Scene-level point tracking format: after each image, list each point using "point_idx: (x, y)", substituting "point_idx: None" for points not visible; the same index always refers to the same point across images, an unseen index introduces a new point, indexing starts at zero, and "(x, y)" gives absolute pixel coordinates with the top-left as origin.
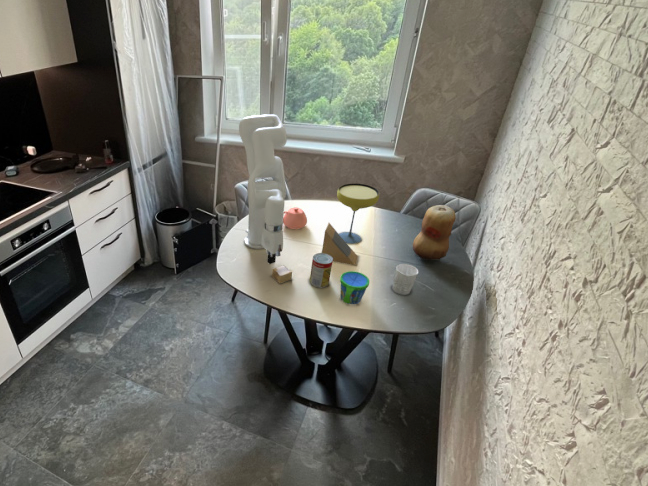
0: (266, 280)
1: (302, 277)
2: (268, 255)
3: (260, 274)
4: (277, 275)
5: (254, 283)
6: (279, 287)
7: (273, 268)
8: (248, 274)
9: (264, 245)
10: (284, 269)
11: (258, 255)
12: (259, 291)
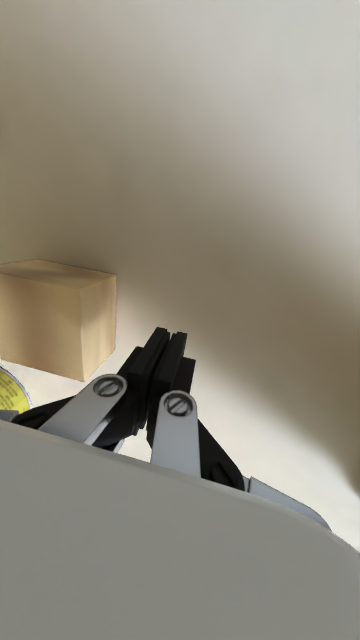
0: (97, 210)
1: (44, 376)
2: (156, 381)
3: (175, 226)
4: (30, 271)
5: (108, 85)
6: (8, 227)
7: (78, 299)
8: (240, 131)
9: (183, 611)
10: (37, 346)
11: (355, 383)
12: (4, 45)
